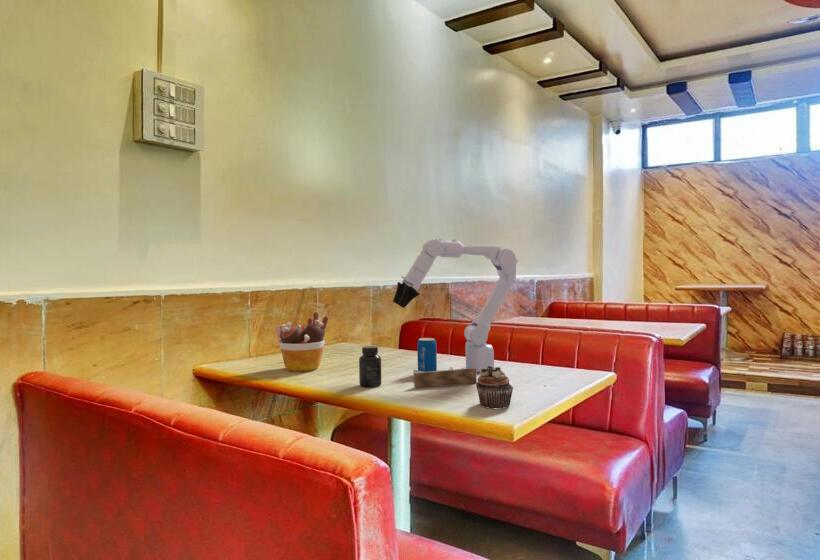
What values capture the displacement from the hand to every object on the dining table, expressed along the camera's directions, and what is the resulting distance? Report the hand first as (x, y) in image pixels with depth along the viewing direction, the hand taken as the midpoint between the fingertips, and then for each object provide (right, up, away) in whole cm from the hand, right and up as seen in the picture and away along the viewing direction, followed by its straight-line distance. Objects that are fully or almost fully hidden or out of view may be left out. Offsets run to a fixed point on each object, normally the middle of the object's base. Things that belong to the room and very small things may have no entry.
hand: (398, 304), depth 186 cm
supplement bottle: (-8, -25, -17) cm, 31 cm away
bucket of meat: (-35, -24, +12) cm, 44 cm away
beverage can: (+10, -24, -1) cm, 26 cm away
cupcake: (+27, -25, -42) cm, 55 cm away
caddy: (+13, -24, -12) cm, 30 cm away
